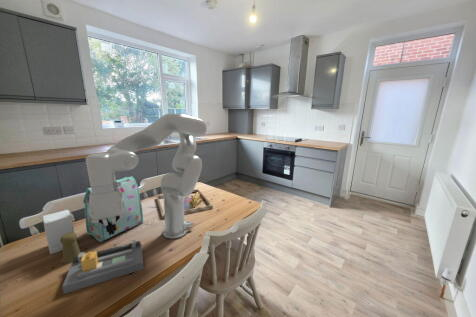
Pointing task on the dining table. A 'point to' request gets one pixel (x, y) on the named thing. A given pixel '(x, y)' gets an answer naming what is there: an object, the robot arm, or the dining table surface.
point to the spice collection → (192, 201)
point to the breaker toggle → (89, 261)
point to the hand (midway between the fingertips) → (112, 232)
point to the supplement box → (57, 229)
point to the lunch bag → (130, 206)
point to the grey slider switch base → (105, 266)
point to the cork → (69, 247)
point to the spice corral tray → (188, 209)
